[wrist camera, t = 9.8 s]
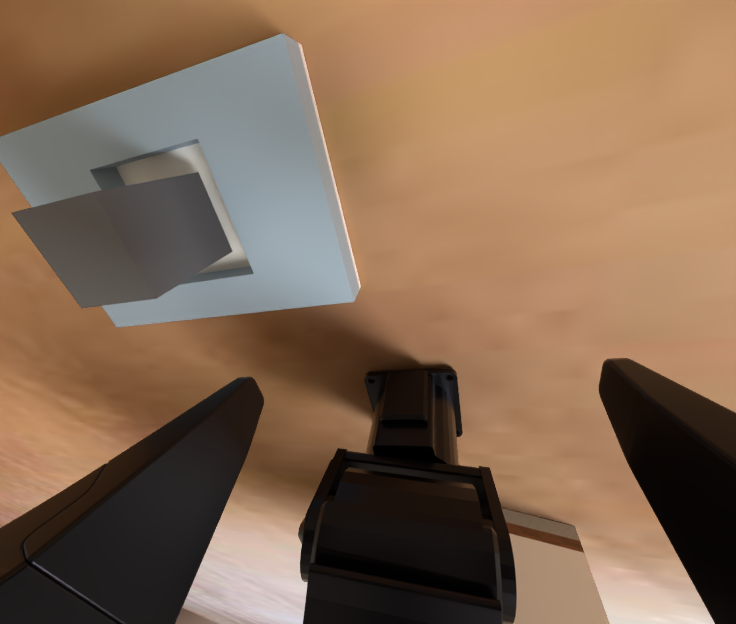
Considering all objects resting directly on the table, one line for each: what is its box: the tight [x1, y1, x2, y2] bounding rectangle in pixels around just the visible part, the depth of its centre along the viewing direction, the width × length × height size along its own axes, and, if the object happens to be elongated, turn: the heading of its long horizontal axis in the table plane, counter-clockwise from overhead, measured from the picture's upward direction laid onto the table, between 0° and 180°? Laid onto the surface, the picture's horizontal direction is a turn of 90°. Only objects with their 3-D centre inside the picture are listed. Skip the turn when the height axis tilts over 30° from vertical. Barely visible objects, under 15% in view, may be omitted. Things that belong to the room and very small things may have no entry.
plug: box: [12, 172, 233, 308], centre depth 16 cm, size 4×4×7 cm
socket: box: [0, 33, 361, 328], centre depth 18 cm, size 12×18×2 cm, turn 102°
